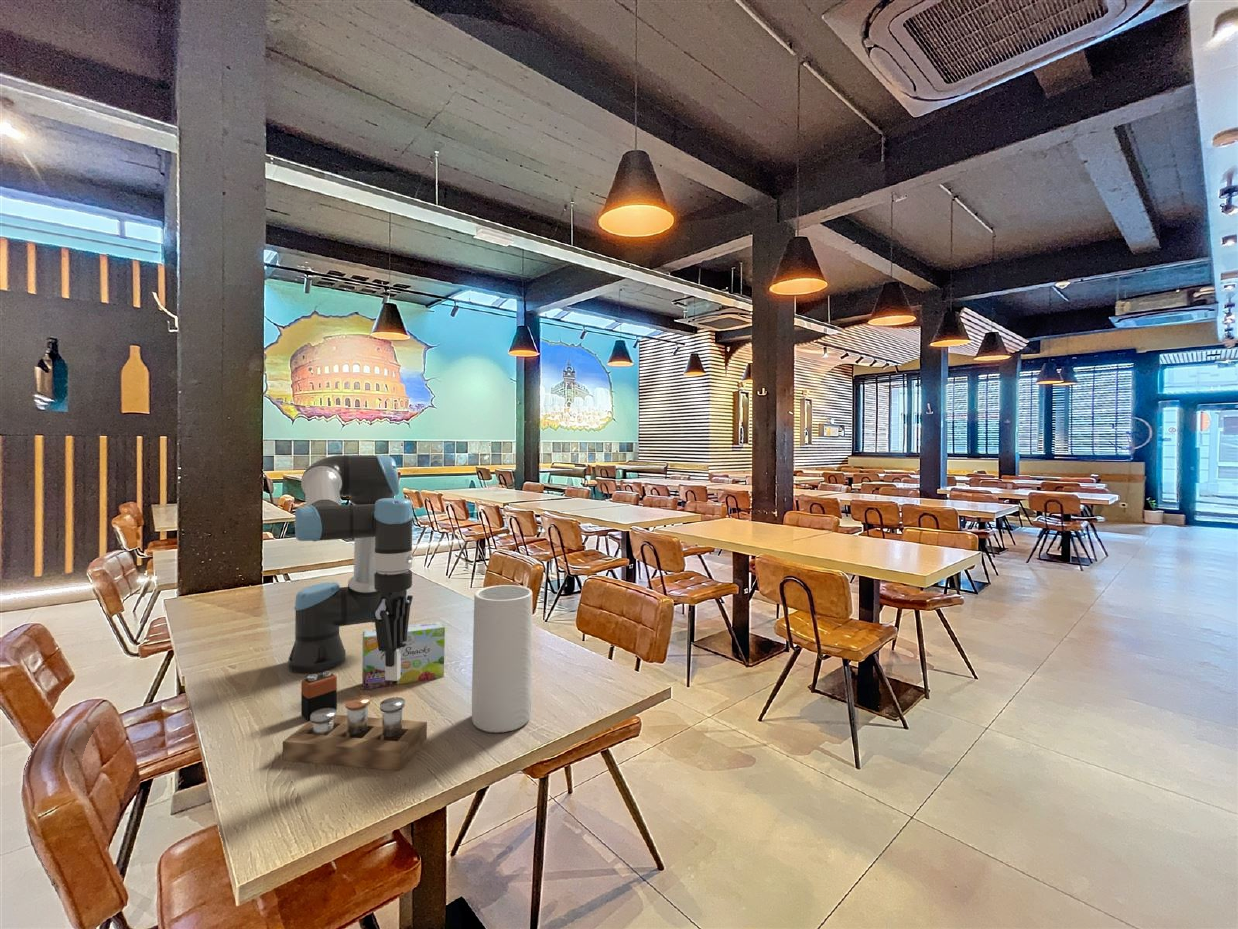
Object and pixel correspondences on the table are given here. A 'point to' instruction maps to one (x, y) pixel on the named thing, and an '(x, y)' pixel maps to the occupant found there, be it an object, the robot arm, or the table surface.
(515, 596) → the vase
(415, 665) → the snack box
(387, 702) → the plug
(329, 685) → the battery
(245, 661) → the table surface
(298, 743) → the wooden jar holder
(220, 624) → the table surface
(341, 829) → the table surface
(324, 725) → the plug
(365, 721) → the plug mid
